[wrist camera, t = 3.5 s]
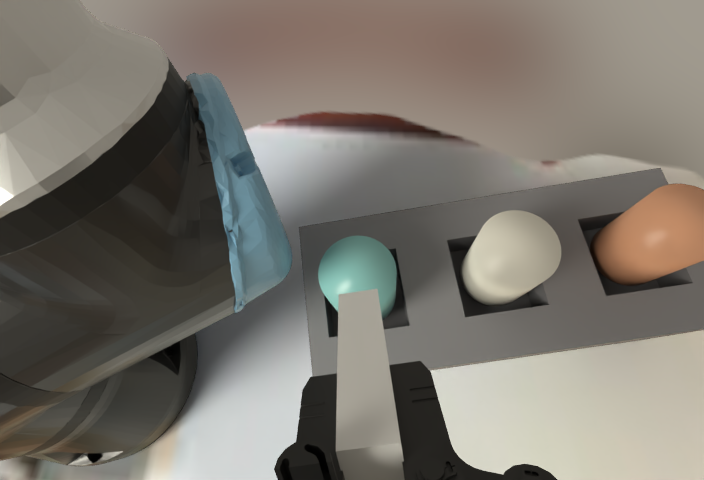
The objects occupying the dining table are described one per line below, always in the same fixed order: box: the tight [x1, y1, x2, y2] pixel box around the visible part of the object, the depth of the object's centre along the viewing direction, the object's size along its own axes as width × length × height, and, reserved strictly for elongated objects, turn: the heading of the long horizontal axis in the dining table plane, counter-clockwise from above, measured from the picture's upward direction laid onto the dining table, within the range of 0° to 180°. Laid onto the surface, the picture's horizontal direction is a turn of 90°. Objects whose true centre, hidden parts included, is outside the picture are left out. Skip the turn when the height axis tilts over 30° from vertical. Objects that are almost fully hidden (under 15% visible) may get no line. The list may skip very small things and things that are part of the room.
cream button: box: [460, 210, 561, 306], centre depth 24 cm, size 4×4×6 cm
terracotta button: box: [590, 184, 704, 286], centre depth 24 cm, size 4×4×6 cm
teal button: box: [318, 236, 397, 321], centre depth 24 cm, size 4×4×6 cm
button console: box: [299, 168, 704, 377], centre depth 30 cm, size 26×11×9 cm, turn 98°
